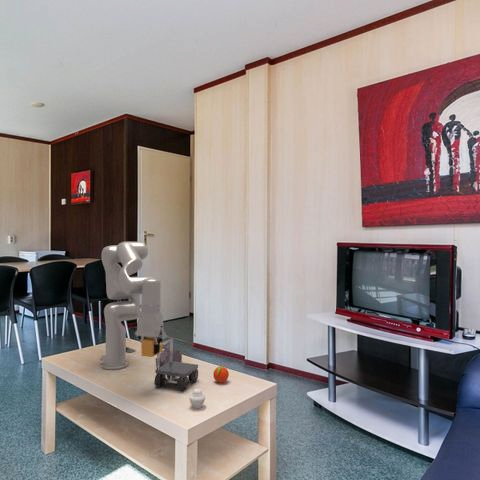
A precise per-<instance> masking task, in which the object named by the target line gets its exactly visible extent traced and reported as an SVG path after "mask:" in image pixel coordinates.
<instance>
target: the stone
mask: <svg viewBox="0 0 480 480" xmlns="http://www.w3.org/2000/svg"><path fill="white" fill-rule="evenodd" d="M167 344H168V345H166V347H165V348H164V349H163V352H161V353H160V367H161V366H163V365H165V364H166V363H168V362H170V343H167ZM180 351H181V350H180V349H176V348H175V346H173V353H172V361H175V362H182V360H183V359H182V358H183V354H182V353H180ZM155 367H156V368H157V357H156V358H155Z"/></svg>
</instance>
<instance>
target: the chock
mask: <svg viewBox="0 0 480 480" xmlns="http://www.w3.org/2000/svg"><path fill="white" fill-rule="evenodd" d="M141 344H142V349H141V356H142V357H147V358H154V357H155V356H157V354H159V353H161V352H163V350H164V349H163V346H164V345H163V342H161V343H160V351H159V353H157V354H154V344H155V341H154V338H151V337H147V338H145V339H143V340H142V343H141Z"/></svg>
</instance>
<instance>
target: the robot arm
mask: <svg viewBox="0 0 480 480" xmlns="http://www.w3.org/2000/svg"><path fill="white" fill-rule="evenodd" d="M148 253H149V249H148V246H147V244H146V243H145V242H143V241H121V242H119V243H118V244H117V245H108V246H105V247H103V249H102V251H101V262H102V265H103V268H104V271H105V272H104V273H105V283H106V287H105V288H106V295H107V298H108V299H109V300H124V299H128V300H127V301H125V300H124V301H116V302H115V301H114V302H110V303H108V304H106V305H105V307H104V309H103V314H104V321H105V354H104V355H103V354H102V355H100V357H99V361H103V363H102V365H101V368H103V369H104V370H108V371H109V370H112V371H113V370H121V369H124V368H126V367H128V366H129V365H130V364H129V361H128V360H126V353H127V352H126V347H127V345H126V344H127V339H126V338H127V337H126V336H127V331H126V327H125V326H124V325H123V323H122V322H124V321H132V320H137V328H136V331H135V332H134V335H135V336H136V337H137V339H138V340H139V343H141V349H140V350H142V340H143V339H145V338H147V337H148V338H154V341H155V344H154V354H157V353H159V351H160V343H163V342H164V340H165V339H166V338H167V337H168V334H166V332H165V330H164V318H163V312H162V311H161V292H162V290H161V288H162V287H161V286H162V285H161V280H160V279H159V278H155V277H154V276H152V275H147V276H131V275H133V274H135V273H137V272H139V271H140V270H141V269H142V268H143V261H144V260H145V259H146V258H147V257H148ZM119 263H121V265H122V266H121V265H120V264H119ZM140 295H141V297H140Z"/></svg>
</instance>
